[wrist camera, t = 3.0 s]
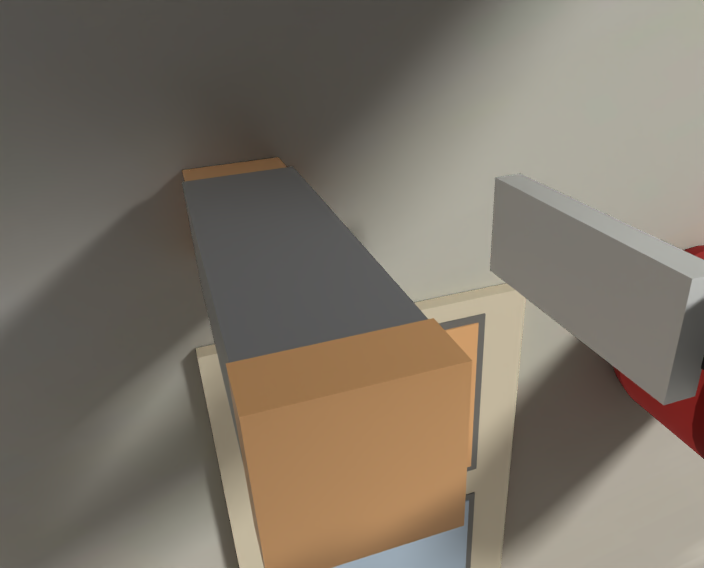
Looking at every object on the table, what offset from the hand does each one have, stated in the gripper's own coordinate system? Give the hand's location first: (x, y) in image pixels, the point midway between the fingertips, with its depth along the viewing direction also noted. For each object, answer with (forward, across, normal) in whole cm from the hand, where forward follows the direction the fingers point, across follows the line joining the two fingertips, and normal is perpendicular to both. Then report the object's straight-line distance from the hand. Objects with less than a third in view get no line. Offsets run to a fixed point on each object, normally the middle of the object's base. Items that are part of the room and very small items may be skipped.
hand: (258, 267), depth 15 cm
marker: (+4, 0, 0) cm, 4 cm away
